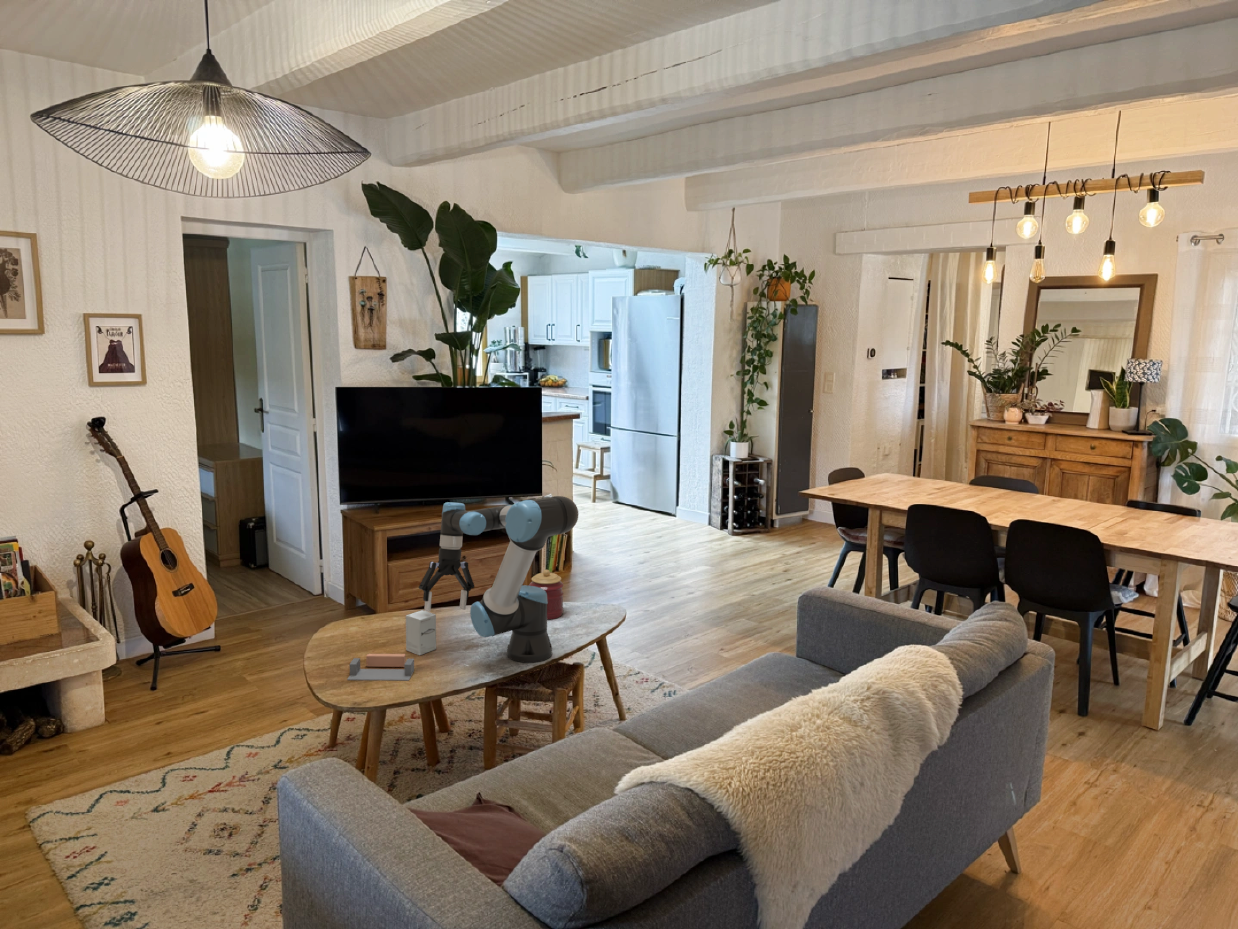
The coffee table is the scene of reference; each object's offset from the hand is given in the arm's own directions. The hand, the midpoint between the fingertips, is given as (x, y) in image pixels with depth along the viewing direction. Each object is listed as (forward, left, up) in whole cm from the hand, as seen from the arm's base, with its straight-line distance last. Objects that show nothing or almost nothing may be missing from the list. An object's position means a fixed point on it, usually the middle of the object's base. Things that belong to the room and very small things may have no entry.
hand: (445, 610), depth 286 cm
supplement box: (+3, +8, -13) cm, 16 cm away
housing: (-6, +28, -13) cm, 32 cm away
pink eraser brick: (-1, +24, -13) cm, 27 cm away
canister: (0, -46, -13) cm, 48 cm away
